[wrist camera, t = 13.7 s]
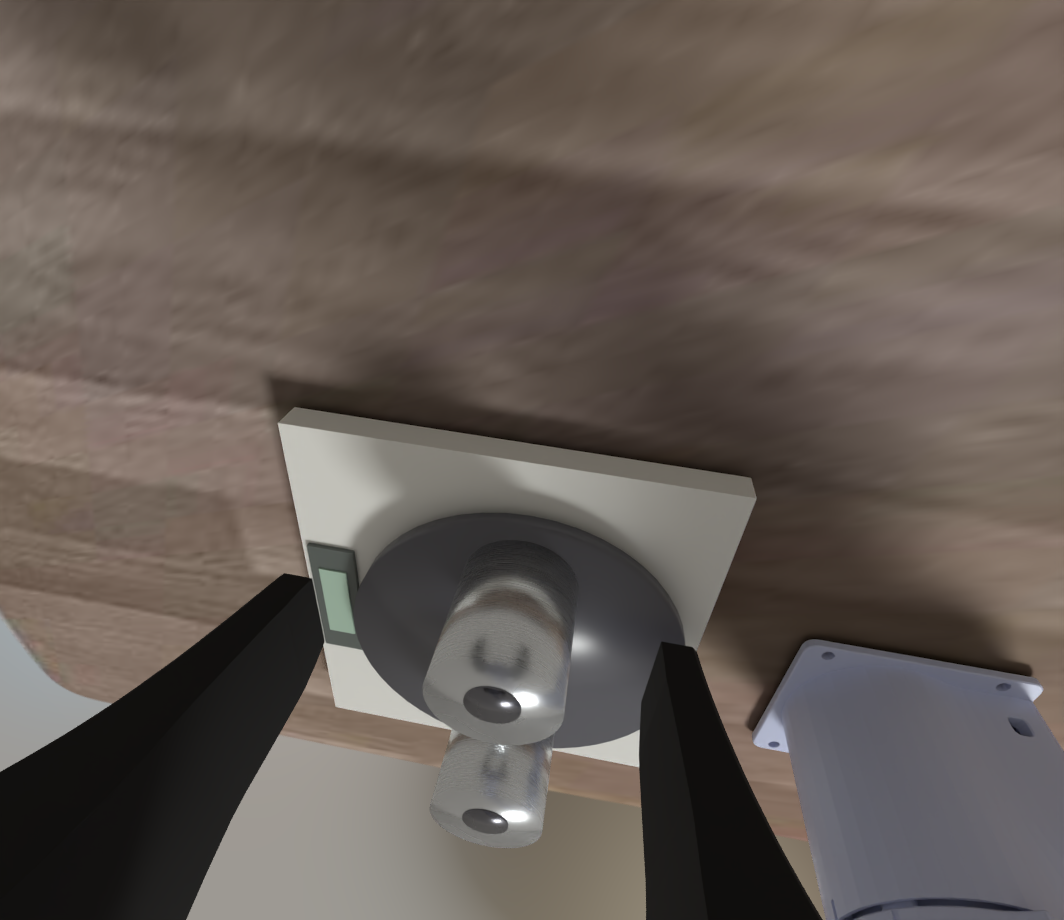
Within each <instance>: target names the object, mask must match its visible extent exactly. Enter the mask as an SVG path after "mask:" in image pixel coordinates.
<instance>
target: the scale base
mask: <svg viewBox="0 0 1064 920" xmlns="http://www.w3.org/2000/svg"><path fill="white" fill-rule="evenodd" d="M278 427H279V431H280V436H281V441H282V446H283V451H284V456H285V461H286V466H287V471H288V475H289V480H290V485H291V490H292V495H293V500H294V505H295V510H296V515H297V519H298V524H299V529H300V534H301V539H302V544H303V549H304V554H305V559H306V563H307V568H308V573H309V578H312V580H313V585H314V590H315V595H316V600H317V605H318V610H319V615H320V620H321V625H322V630H323V635H324V640H325V642H324V645H323V647H324V651H325V656H326V661H327V666H328V671H329V676H330V681H331V686H332V691H333V695H334V700H335V705H336V707H339V708H344V709H349V710H354V711H359V712H364V713H369V714H374V715H379V716H384V717H389V718H395V719H400V720H405V721H410V722H415V723H420V724H425V725H430V726H435V727H440V728H445V729H450V730H452V728H450V727H449V726H447V725H446V724H444V723H443V722H441V721H439V720H437V719H435V718H433V717H431V716H429V715H428V714H426V713H424V712H423V711H421V710H419V709H418V708H416V707H415V706H413V705H412V704H411V703H409V702H408V701H406V700H405V699H404V698H403V697H401V696H400V695H399V694H398V693H397V692H395V691H394V690H393V689H392V688H391V687H390V686H389V685H388V684H387V683H386V682H385V681H384V680H383V679H382V678H381V677H380V676H379V674H378V673H377V672H376V670H375V669H374V668H373V667H372V665H371V664H370V662H369V660H368V659H367V657H366V656H365V654H364V652H363V650H362V647H361V645H360V643H359V640H358V638H357V633H356V629H355V625H354V605H355V599H356V595H357V592H358V590H359V587H360V584H361V582H362V580H363V579H364V577H365V575H366V573H367V571H368V570H369V568H370V566H371V565H372V563H373V562H374V560H375V558H376V557H377V556H378V555H379V554H380V553H381V552H382V550H383V549H384V548H385V547H386V546H387V545H388V544H390V543H391V542H392V541H394V540H395V539H396V538H398V537H399V536H400V535H402V534H404V533H406V532H408V531H410V530H412V529H413V528H415V527H417V526H420V525H423V524H425V523H428V522H431V521H434V520H437V519H441V518H446V517H450V516H455V515H461V514H471V513H512V514H521V515H529V516H535V517H539V518H544V519H548V520H553V521H557V522H560V523H563V524H566V525H569V526H572V527H575V528H578V529H581V530H583V531H585V532H588V533H590V534H592V535H594V536H597V537H599V538H601V539H603V540H605V541H607V542H608V543H610V544H612V545H614V546H615V547H617V548H619V549H621V550H622V551H624V552H625V553H626V554H628V555H629V556H630V557H632V558H633V559H635V560H636V561H637V562H639V563H640V564H641V565H642V566H643V567H644V568H645V569H646V570H647V571H649V572H650V573H651V574H652V575H653V576H654V577H655V578H656V579H657V580H658V582H659V583H660V584H661V585H662V587H663V588H664V589H665V591H666V592H667V593H668V594H669V596H670V598H671V600H672V601H673V603H674V605H675V607H676V608H677V610H678V613H679V616H680V619H681V622H682V624H683V630H684V636H685V644H686V646H690V647H693V648H694V649H695V651H697V649H698V646H699V644H700V641H701V639H702V636H703V633H704V631H705V628H706V626H707V623H708V621H709V618H710V616H711V613H712V611H713V608H714V606H715V603H716V600H717V598H718V595H719V593H720V590H721V588H722V585H723V583H724V580H725V578H726V575H727V573H728V570H729V568H730V565H731V562H732V560H733V557H734V555H735V552H736V550H737V547H738V545H739V542H740V540H741V537H742V535H743V532H744V530H745V527H746V524H747V522H748V519H749V517H750V514H751V512H752V509H753V507H754V504H755V502H756V499H757V497H756V494H755V490H754V487H753V483H752V480H751V478H749V477H743V476H737V475H730V474H724V473H717V472H711V471H704V470H698V469H691V468H685V467H678V466H672V465H665V464H659V463H653V462H646V461H640V460H633V459H627V458H620V457H614V456H607V455H601V454H594V453H588V452H582V451H575V450H569V449H562V448H556V447H549V446H543V445H536V444H530V443H523V442H517V441H510V440H504V439H498V438H491V437H485V436H478V435H472V434H465V433H459V432H452V431H446V430H439V429H433V428H426V427H420V426H414V425H407V424H401V423H394V422H388V421H381V420H375V419H368V418H362V417H355V416H349V415H342V414H336V413H330V412H323V411H317V410H310V409H304V408H297V407H294V408H293V409H292V410H291V411H290V412H289V413H288V414H287V415H286V416H284V417H283V418H282V419H281V420H280V421H279V422H278ZM639 737H640V730H638V731H636V732H634V733H632V734H630V735H628V736H625V737H622V738H619V739H616V740H613V741H610V742H605V743H601V744H597V745H591V746H584V747H576V748H553V750H555V751H560V752H565V753H570V754H575V755H580V756H585V757H590V758H595V759H600V760H605V761H610V762H615V763H620V764H625V765H630V766H635V767H639Z"/></svg>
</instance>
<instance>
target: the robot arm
mask: <svg viewBox="0 0 1064 920" xmlns="http://www.w3.org/2000/svg"><path fill="white" fill-rule="evenodd" d="M324 642H325V640H324V635H323V630H322V625H321V620H320V615H319V610H318V605H317V600H316V595H315V590H314V585H313V580H312V578H307V577H302V576H296V575H291V574H285V573H284V574H283V575H281V576H280V577H279V578H277V579H276V580H275V581H274V582H272V583H271V584H270V585H269V586H267V587H266V588H265V589H264V590H262V591H261V592H260V593H259V594H257V595H256V596H255V597H254V598H253V599H251V600H250V601H249V602H248V603H246V604H245V605H244V606H243V607H241V608H240V609H239V610H238V611H237V612H235V613H234V614H233V615H232V616H230V617H229V618H228V619H227V620H225V621H224V622H223V623H222V624H220V625H219V626H218V627H217V628H215V629H214V630H213V631H211V632H210V633H209V634H208V635H206V636H205V637H204V638H202V639H201V640H200V641H199V642H197V643H196V644H195V645H193V646H192V647H191V648H189V649H188V650H187V651H186V652H184V653H183V654H182V655H180V656H179V657H178V658H176V659H175V660H174V661H172V662H171V663H170V664H168V665H167V666H165V667H164V668H163V669H161V670H160V671H158V672H157V673H156V674H154V675H153V676H151V677H150V678H149V679H147V680H146V681H145V682H143V683H142V684H140V685H139V686H138V687H136V688H135V689H133V690H132V691H131V692H129V693H128V694H126V695H125V696H123V697H122V698H120V699H119V700H117V701H116V702H114V703H113V704H111V705H110V706H109V707H107V708H105V709H104V710H102V711H101V712H99V713H98V714H96V715H95V716H93V717H92V718H90V719H89V720H87V721H85V722H84V723H82V724H81V725H79V726H77V727H76V728H74V729H73V730H71V731H69V732H68V733H66V734H65V735H63V736H61V737H60V738H58V739H56V740H55V741H53V742H51V743H49V744H48V745H46V746H45V747H43V748H41V749H40V750H38V751H36V752H35V753H33V754H31V755H29V756H27V757H26V758H24V759H22V760H21V761H19V762H17V763H15V764H13V765H12V766H10V767H8V768H6V769H5V770H3V771H1V772H0V920H186V919H187V916H188V914H189V912H190V909H191V907H192V904H193V903H194V900H195V898H196V896H197V893H198V891H199V889H200V887H201V884H202V882H203V880H204V877H205V875H206V873H207V871H208V869H209V867H210V864H211V862H212V860H213V858H214V856H215V854H216V851H217V849H218V847H219V845H220V843H221V841H222V838H223V836H224V834H225V832H226V830H227V828H228V826H229V823H230V821H231V819H232V817H233V815H234V813H235V812H236V810H237V808H238V806H239V804H240V802H241V800H242V798H243V796H244V794H245V793H246V791H247V789H248V787H249V786H250V784H251V782H252V781H253V779H254V777H255V775H256V774H257V772H258V770H259V768H260V767H261V765H262V763H263V761H264V760H265V758H266V756H267V754H268V753H269V751H270V749H271V747H272V745H273V744H274V742H275V741H276V739H277V737H278V735H279V734H280V732H281V730H282V728H283V727H284V725H285V723H286V721H287V720H288V718H289V716H290V714H291V712H292V711H293V709H294V707H295V705H296V704H297V702H298V700H299V698H300V696H301V695H302V693H303V691H304V689H305V687H306V685H307V682H308V680H309V678H310V676H311V673H312V671H313V669H314V667H315V664H316V662H317V659H318V657H319V654H320V652H321V650H322V647H323V645H324ZM1042 691H1043V687H1042V685H1041V684H1040V682H1039V681H1038V680H1037V679H1036V678H1033V677H1028V676H1023V675H1017V674H1011V673H1006V672H1000V671H994V670H989V669H983V668H977V667H972V666H966V665H960V664H955V663H949V662H943V661H938V660H932V659H926V658H921V657H915V656H909V655H904V654H898V653H892V652H886V651H881V650H875V649H869V648H864V647H858V646H852V645H847V644H841V643H835V642H830V641H824V640H818V639H811V640H807V641H805V642H804V643H803V644H802V645H801V647H800V649H799V651H798V653H797V654H796V656H795V658H794V660H793V662H792V663H791V665H790V667H789V669H788V670H787V672H786V674H785V676H784V678H783V679H782V681H781V683H780V685H779V687H778V688H777V690H776V692H775V694H774V696H773V697H772V699H771V701H770V703H769V705H768V706H767V708H766V710H765V712H764V713H763V715H762V717H761V719H760V721H759V722H758V724H757V726H756V728H755V730H754V731H753V733H752V740H753V743H754V744H755V745H756V746H758V747H762V748H767V749H772V750H777V751H782V752H788V753H789V755H790V759H791V764H792V768H793V773H794V777H795V782H796V786H797V791H798V795H799V800H800V804H801V809H802V813H803V818H804V822H805V827H806V831H807V836H808V840H809V845H810V849H811V854H812V858H813V863H814V867H815V872H816V877H817V881H818V886H819V890H820V895H821V899H822V904H823V908H824V913H825V917H826V920H1064V751H1063V749H1062V748H1061V746H1060V745H1059V743H1058V742H1057V740H1056V738H1055V737H1054V735H1053V734H1052V732H1051V730H1050V729H1049V727H1048V726H1047V724H1046V722H1045V721H1044V719H1043V718H1042V716H1041V714H1040V713H1039V711H1038V710H1037V708H1036V707H1035V705H1034V703H1033V701H1034V700H1035V699H1036V698H1037V697H1038V696H1039V695H1040V694H1041V693H1042ZM639 770H640V788H641V807H642V824H643V841H644V858H645V859H644V860H645V877H646V920H822V918H821V917H820V915H819V913H818V911H817V910H816V908H815V906H814V905H813V903H812V901H811V900H810V898H809V897H808V895H807V893H806V891H805V889H804V888H803V886H802V884H801V882H800V881H799V879H798V877H797V875H796V874H795V872H794V870H793V868H792V866H791V865H790V863H789V861H788V859H787V857H786V856H785V854H784V852H783V850H782V848H781V846H780V845H779V843H778V841H777V839H776V837H775V835H774V833H773V831H772V829H771V827H770V825H769V823H768V821H767V819H766V817H765V815H764V813H763V811H762V809H761V807H760V805H759V803H758V801H757V799H756V797H755V795H754V793H753V791H752V789H751V787H750V785H749V783H748V780H747V778H746V776H745V774H744V772H743V770H742V767H741V765H740V763H739V761H738V758H737V756H736V754H735V752H734V749H733V747H732V745H731V742H730V740H729V738H728V736H727V733H726V731H725V728H724V726H723V724H722V721H721V719H720V716H719V713H718V711H717V708H716V706H715V703H714V701H713V698H712V695H711V693H710V690H709V687H708V685H707V682H706V679H705V676H704V673H703V670H702V667H701V664H700V661H699V658H698V655H697V652H696V651H695V649H694V648H693V647H690V646H684V645H679V644H673V643H668V642H662V641H661V644H660V647H659V650H658V653H657V656H656V659H655V662H654V665H653V668H652V671H651V674H650V677H649V680H648V683H647V686H646V689H645V692H644V695H643V698H642V701H641V716H640V737H639Z"/></svg>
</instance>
